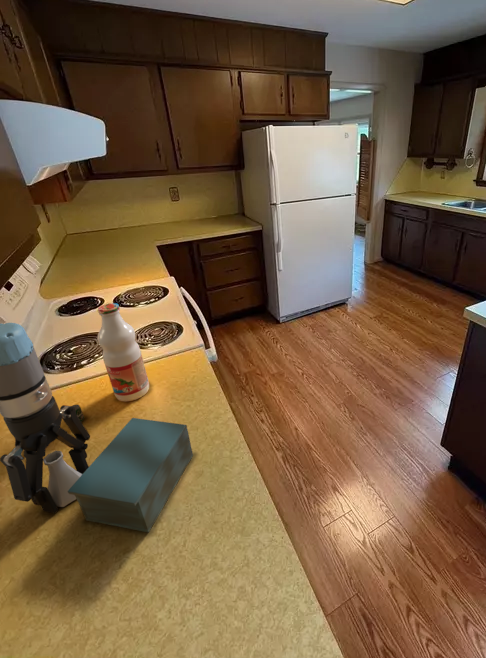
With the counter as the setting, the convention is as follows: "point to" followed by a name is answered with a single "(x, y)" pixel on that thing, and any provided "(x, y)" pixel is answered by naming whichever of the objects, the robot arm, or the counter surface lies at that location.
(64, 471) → the flask
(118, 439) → the lid
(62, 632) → the counter surface
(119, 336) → the fruit juice
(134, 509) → the chest
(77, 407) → the beer can
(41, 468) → the robot arm
